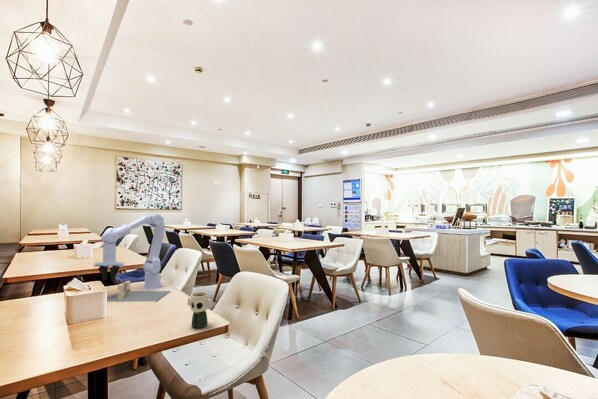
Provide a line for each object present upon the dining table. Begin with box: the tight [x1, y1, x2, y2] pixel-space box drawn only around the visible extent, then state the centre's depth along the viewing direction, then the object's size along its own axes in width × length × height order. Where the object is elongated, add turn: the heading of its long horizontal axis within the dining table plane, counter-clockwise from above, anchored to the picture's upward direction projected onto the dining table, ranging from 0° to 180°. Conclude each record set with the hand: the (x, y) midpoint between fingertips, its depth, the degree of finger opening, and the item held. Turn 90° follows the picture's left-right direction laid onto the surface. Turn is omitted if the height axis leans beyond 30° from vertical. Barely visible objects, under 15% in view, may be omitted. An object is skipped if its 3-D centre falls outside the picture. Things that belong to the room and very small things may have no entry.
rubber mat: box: [106, 290, 171, 303], centre depth 159 cm, size 18×28×1 cm, turn 92°
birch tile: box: [117, 280, 131, 300], centre depth 157 cm, size 9×2×8 cm, turn 2°
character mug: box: [187, 291, 213, 329], centre depth 121 cm, size 11×7×13 cm, turn 78°
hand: (108, 280), depth 157 cm, fingers open, 4 cm apart
